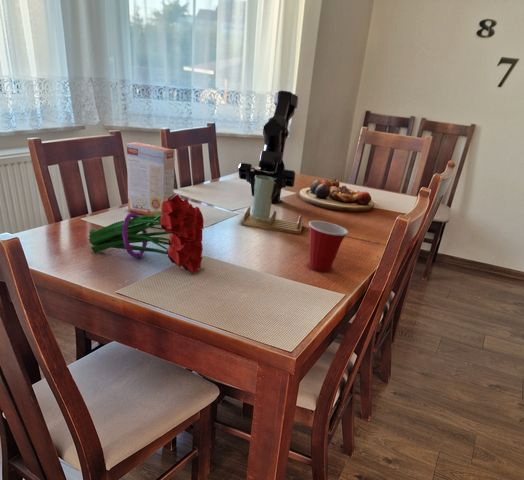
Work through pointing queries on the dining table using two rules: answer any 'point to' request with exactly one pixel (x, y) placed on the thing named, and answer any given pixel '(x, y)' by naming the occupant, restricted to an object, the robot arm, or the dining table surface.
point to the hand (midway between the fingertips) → (262, 197)
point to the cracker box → (149, 177)
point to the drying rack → (272, 223)
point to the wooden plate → (336, 196)
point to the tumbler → (262, 196)
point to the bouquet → (172, 222)
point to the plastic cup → (324, 244)
